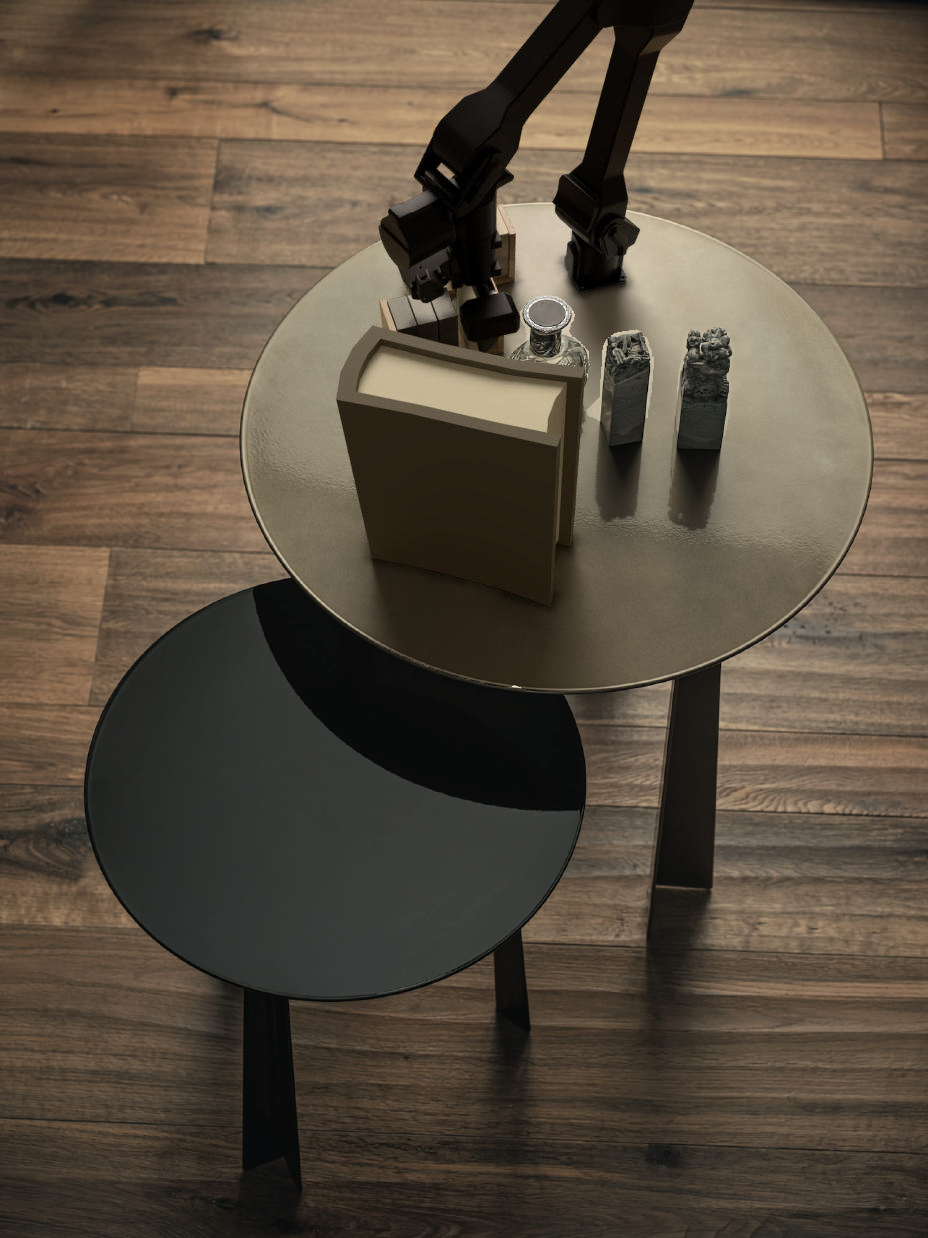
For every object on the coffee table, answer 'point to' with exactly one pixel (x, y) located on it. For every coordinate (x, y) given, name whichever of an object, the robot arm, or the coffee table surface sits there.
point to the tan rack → (428, 320)
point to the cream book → (462, 297)
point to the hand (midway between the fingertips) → (472, 324)
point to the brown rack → (502, 249)
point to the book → (463, 458)
